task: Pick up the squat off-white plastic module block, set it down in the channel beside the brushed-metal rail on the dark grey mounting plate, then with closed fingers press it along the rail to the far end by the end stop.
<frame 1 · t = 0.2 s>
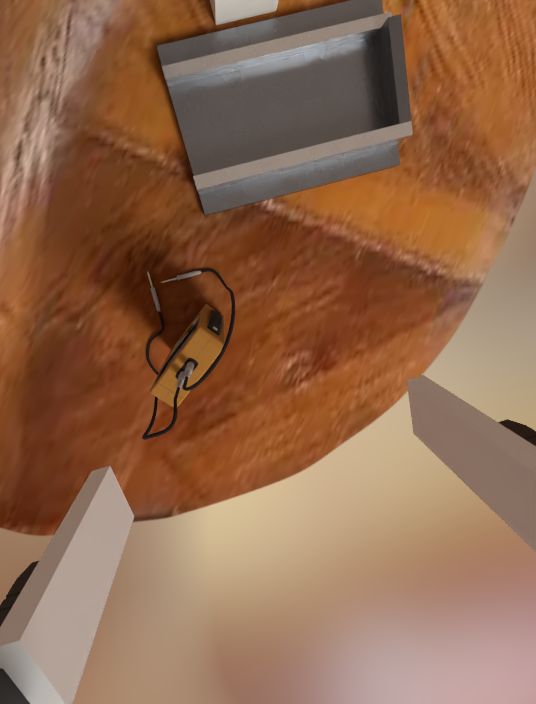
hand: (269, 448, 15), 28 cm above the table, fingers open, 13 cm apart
multimeter: (172, 315, 40), on the table
rail base: (286, 113, 35), on the table
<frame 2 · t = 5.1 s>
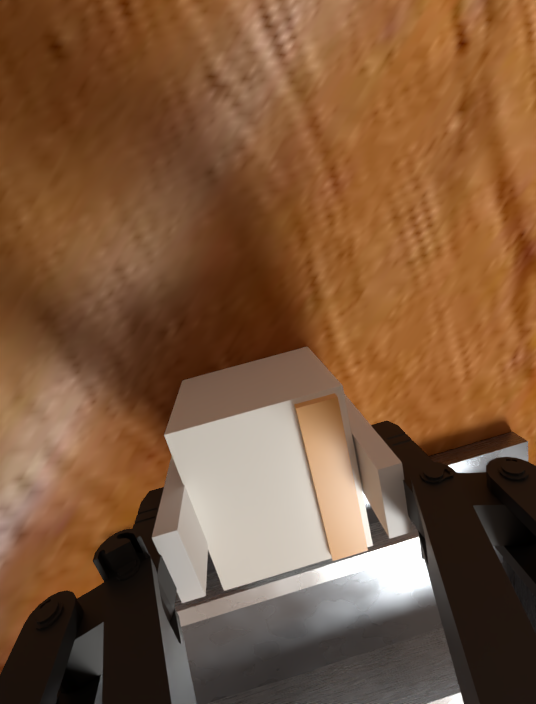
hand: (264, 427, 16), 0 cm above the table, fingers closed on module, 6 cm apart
module: (263, 427, 17), on the table, touching gripper
rail base: (345, 588, 20), on the table
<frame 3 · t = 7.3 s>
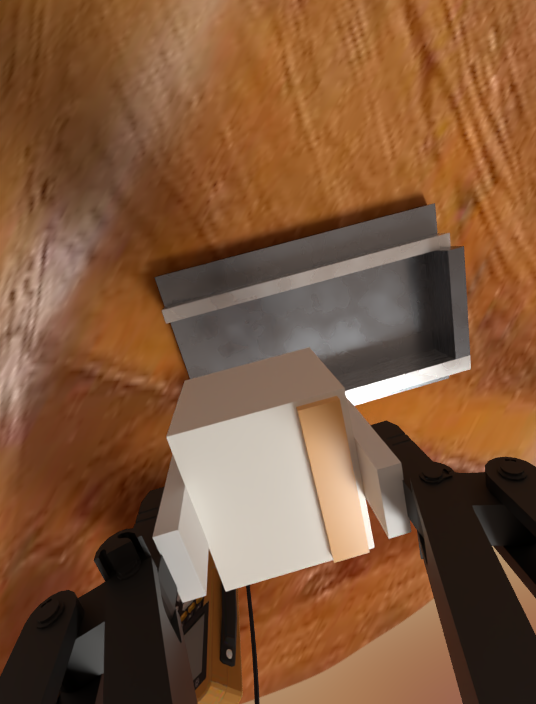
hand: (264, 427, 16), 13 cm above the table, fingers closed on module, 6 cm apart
multimeter: (173, 538, 34), on the table
module: (265, 428, 17), point 12 cm above the table, touching gripper
rail base: (313, 330, 29), on the table
when the fingers open (2 cm above the table, at t = 9.4 s): module stays where it is, resting on rail base.
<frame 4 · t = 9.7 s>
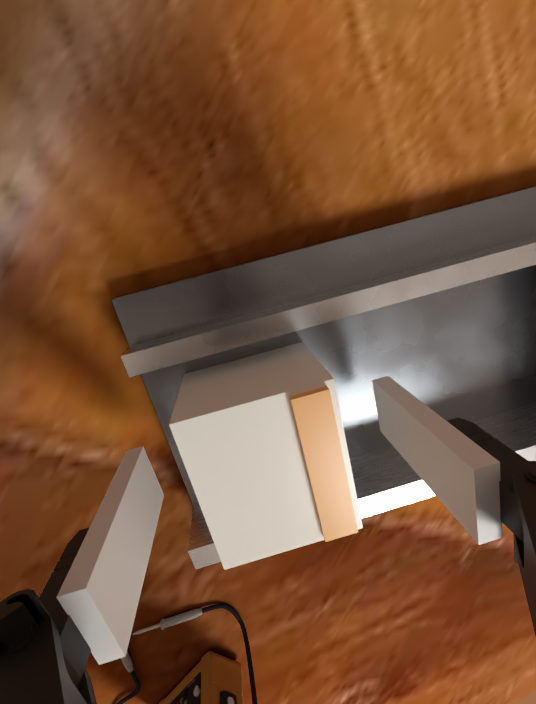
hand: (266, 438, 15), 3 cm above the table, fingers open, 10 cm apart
multimeter: (153, 663, 24), on the table
module: (261, 419, 18), point 1 cm above the table, touching rail base
rail base: (363, 375, 19), on the table
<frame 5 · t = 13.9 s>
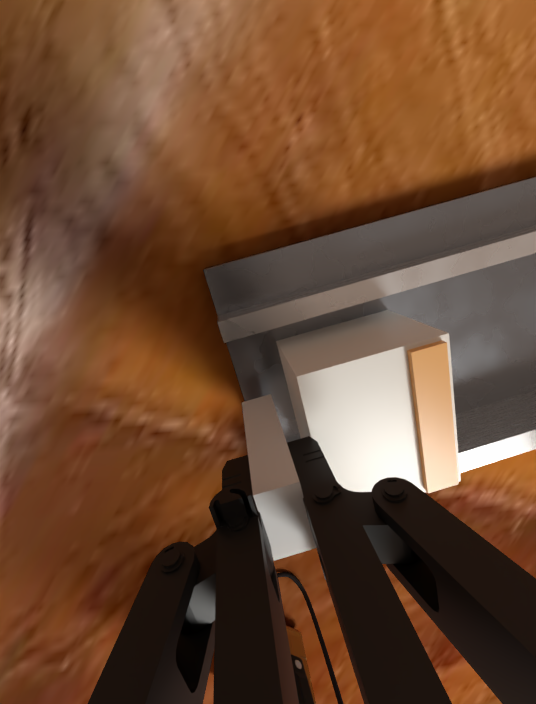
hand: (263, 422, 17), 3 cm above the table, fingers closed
multimeter: (216, 631, 24), on the table
module: (344, 385, 18), point 1 cm above the table, touching gripper, rail base
rail base: (429, 346, 20), on the table
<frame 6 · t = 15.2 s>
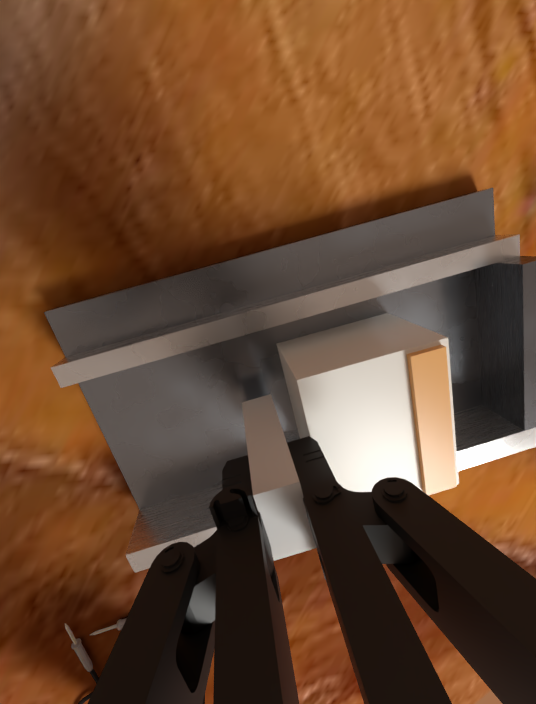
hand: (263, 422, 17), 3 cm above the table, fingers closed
multimeter: (114, 662, 24), on the table
module: (343, 388, 19), point 1 cm above the table
rail base: (304, 381, 19), on the table
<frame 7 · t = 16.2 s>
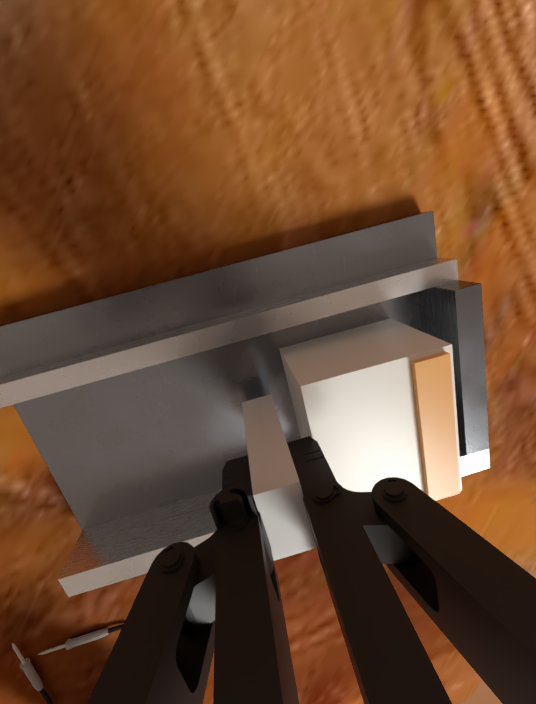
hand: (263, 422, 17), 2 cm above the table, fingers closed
multimeter: (66, 681, 24), on the table
module: (346, 393, 19), point 1 cm above the table, touching gripper, rail base
rail base: (251, 401, 19), on the table
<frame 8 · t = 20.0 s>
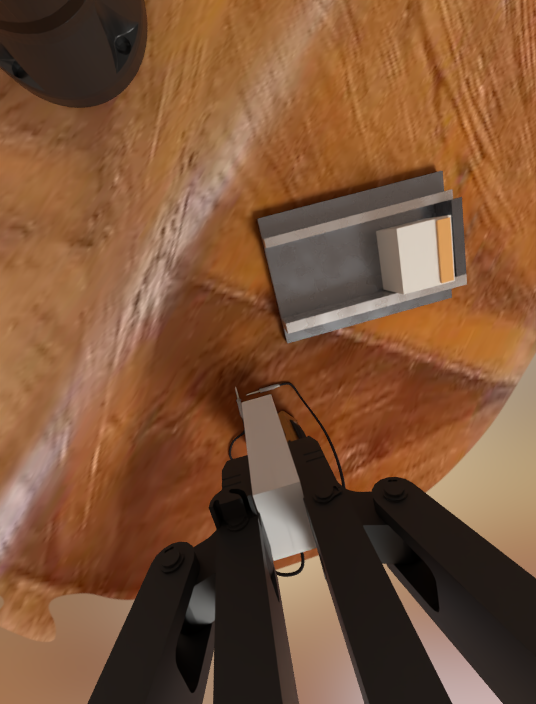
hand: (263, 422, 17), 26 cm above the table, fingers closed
multimeter: (252, 418, 46), on the table
module: (403, 254, 41), point 1 cm above the table, touching rail base
rail base: (358, 260, 42), on the table
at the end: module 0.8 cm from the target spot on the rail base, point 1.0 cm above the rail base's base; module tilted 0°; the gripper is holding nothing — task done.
